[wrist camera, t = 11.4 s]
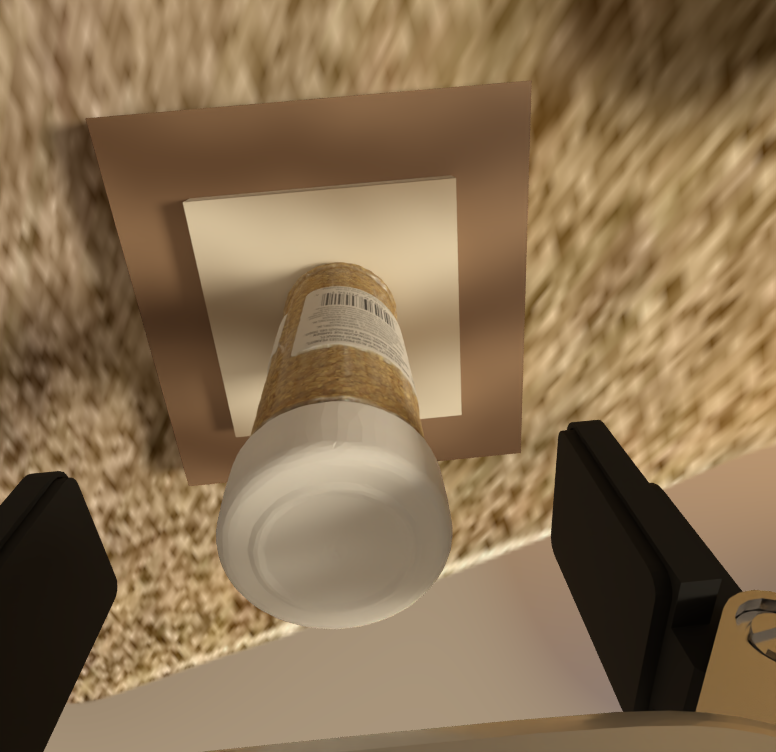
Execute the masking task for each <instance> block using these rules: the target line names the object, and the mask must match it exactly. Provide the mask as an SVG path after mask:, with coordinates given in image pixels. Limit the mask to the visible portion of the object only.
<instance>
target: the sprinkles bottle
mask: <svg viewBox="0 0 776 752" xmlns="http://www.w3.org/2000/svg"><path fill="white" fill-rule="evenodd" d="M451 542H452V522H451V515H450V510H449V504H448V499H447V495H446V491H445V487H444V483H443V479H442V475H441V471H440V468H439V465H438V462H437V459H436V457H435V455H434V454H433V452H432V450H431V448H430V447H429V445H428V444H427V442H426V440H425V438H424V434H423V429H422V425H421V420H420V411H419V403H418V398H417V394H416V389H415V385H414V381H413V377H412V373H411V369H410V364H409V360H408V356H407V352H406V348H405V344H404V341H403V337H402V333H401V330H400V327H399V325H398V322H397V312H396V303H395V300H394V298H393V295H392V293H391V291H390V290H389V288H388V287H387V285H386V284H385V283H384V282H383V280H382V279H381V278H380V277H378V276H377V275H375V274H374V273H373V272H372V271H370V270H368V269H365V268H363V267H362V266H360V265H356V264H353V263H344V262H334V263H329V264H325V265H321V266H317V267H315V268H314V269H312V270H310V271H308V272H307V273H305V274H304V275H302V276H301V277H300V278H299V279H298V280H297V281H296V282H295V284H294V285H293V287H292V289H291V290H290V292H289V293H288V296H287V300H286V303H285V307H284V311H283V320H282V322H281V323H280V326H279V329H278V332H277V335H276V338H275V342H274V346H273V349H272V353H271V356H270V359H269V363H268V368H267V378H266V382H265V384H264V388H263V392H262V395H261V399H260V403H259V406H258V409H257V414H256V418H255V421H254V425H253V428H252V432H251V435H250V438H249V439H248V440H247V441H246V443H245V444H244V445H243V447H242V448H241V449H240V451H239V453H238V454H237V456H236V459H235V461H234V463H233V465H232V468H231V472H230V475H229V478H228V482H227V485H226V489H225V492H224V496H223V500H222V504H221V508H220V513H219V517H218V522H217V529H216V544H217V549H218V554H219V558H220V561H221V564H222V567H223V569H224V571H225V573H226V575H227V576H228V578H229V580H230V581H231V583H232V584H233V585H234V587H235V588H236V589H237V590H238V591H239V592H240V593H241V594H242V595H243V596H244V597H245V598H246V599H247V600H248V601H249V602H250V603H252V604H253V605H254V606H256V607H257V608H259V609H260V610H262V611H264V612H266V613H268V614H270V615H272V616H274V617H276V618H278V619H281V620H283V621H286V622H289V623H293V624H297V625H301V626H305V627H312V628H321V629H342V628H353V627H358V626H364V625H368V624H371V623H375V622H378V621H381V620H384V619H386V618H389V617H391V616H393V615H395V614H397V613H399V612H401V611H403V610H405V609H406V608H407V607H409V606H411V605H412V604H413V603H415V602H416V601H417V600H418V599H420V597H422V596H423V595H424V594H425V593H426V592H427V591H428V590H429V589H430V588H431V587H432V585H433V584H434V583H435V581H436V580H437V579H438V577H439V575H440V574H441V572H442V570H443V568H444V566H445V564H446V562H447V559H448V556H449V553H450V549H451Z"/></svg>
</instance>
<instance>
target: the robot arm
mask: <svg viewBox="0 0 776 752" xmlns="http://www.w3.org/2000/svg"><path fill="white" fill-rule="evenodd" d="M551 543H552V548H553V552H554V555H555V557H556V560H557V562H558V564H559V566H560V569H561V571H562V573H563V576H564V578H565V580H566V582H567V585H568V587H569V589H570V591H571V594H572V596H573V599H574V601H575V603H576V605H577V608H578V610H579V612H580V615H581V617H582V619H583V621H584V624H585V626H586V628H587V630H588V633H589V635H590V637H591V640H592V642H593V644H594V646H595V649H596V651H597V653H598V656H599V658H600V660H601V663H602V664H603V667H604V669H605V672H606V674H607V676H608V679H609V681H610V683H611V685H612V687H613V690H614V692H615V695H616V697H617V699H618V701H619V704H620V706H621V708H622V710H623V712H612V713H601V714H587V715H575V716H562V717H550V718H538V719H525V720H513V721H503V722H492V723H482V724H472V725H462V726H452V727H441V728H431V729H421V730H411V731H401V732H391V733H380V734H370V735H360V736H350V737H340V738H331V739H321V740H311V741H302V742H292V743H282V744H272V745H263V746H253V747H244V748H234V749H224V750H215V751H205V752H776V593H775V592H771V591H760V590H751V591H745V592H742V590H741V589H740V588H739V587H738V585H737V584H736V583H735V581H734V580H733V579H732V578H731V576H730V575H729V574H728V572H727V571H726V570H725V569H724V567H723V566H722V565H721V564H720V562H719V561H718V560H717V558H716V557H715V556H714V555H713V553H712V552H711V551H710V549H709V548H708V547H707V546H706V544H705V543H704V542H703V540H702V539H701V538H700V537H699V535H698V534H697V533H696V532H695V530H694V529H693V528H692V526H691V525H690V524H689V523H688V521H687V520H686V519H685V517H683V515H682V514H681V512H680V511H679V510H678V509H677V507H676V506H675V505H674V503H673V502H672V501H671V500H670V498H669V497H668V496H667V494H666V493H665V492H664V491H663V490H662V489H661V488H660V487H659V486H658V485H657V484H654V483H649V482H648V481H647V480H646V478H645V477H644V476H643V474H642V473H641V472H640V470H639V469H638V468H637V466H636V465H635V464H634V463H633V461H632V460H631V459H630V457H629V456H628V455H627V453H626V452H625V451H624V449H623V448H622V447H621V445H620V444H619V443H618V441H617V440H616V439H615V438H614V436H613V435H612V434H611V432H610V431H609V430H608V428H607V427H606V426H605V424H604V423H603V422H602V421H601V420H591V421H581V422H571V423H570V424H569V425H568V427H567V430H565V431H560V433H559V436H558V447H557V461H556V474H555V488H554V501H553V515H552V528H551ZM116 594H117V579H116V576H115V574H114V571H113V569H112V566H111V564H110V561H109V559H108V557H107V554H106V552H105V549H104V547H103V544H102V542H101V539H100V537H99V534H98V532H97V529H96V527H95V525H94V522H93V520H92V517H91V515H90V512H89V510H88V507H87V505H86V502H85V500H84V498H83V495H82V493H81V490H80V488H79V485H78V483H77V481H76V480H75V479H74V478H68V476H67V475H66V474H65V473H64V472H61V471H55V472H45V473H34V474H29V475H27V476H25V477H24V478H23V479H22V480H21V482H20V483H19V484H18V485H17V486H16V487H15V489H14V490H13V491H12V492H11V493H10V494H9V496H8V497H7V498H6V499H5V500H4V502H3V503H2V504H1V505H0V752H43V751H44V749H45V747H46V745H47V743H48V741H49V738H50V736H51V734H52V732H53V730H54V728H55V726H56V724H57V722H58V719H59V717H60V715H61V713H62V711H63V709H64V707H65V704H66V702H67V700H68V698H69V696H70V694H71V692H72V690H73V687H74V685H75V683H76V681H77V679H78V677H79V675H80V672H81V670H82V668H83V666H84V664H85V662H86V660H87V657H88V655H89V653H90V651H91V649H92V647H93V645H94V643H95V640H96V638H97V636H98V634H99V632H100V630H101V628H102V625H103V623H104V621H105V619H106V617H107V615H108V613H109V611H110V608H111V606H112V604H113V602H114V600H115V597H116Z"/></svg>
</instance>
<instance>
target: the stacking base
mask: <svg viewBox="0 0 776 752" xmlns="http://www.w3.org/2000/svg"><path fill="white" fill-rule="evenodd" d="M530 114H531V81H521V82H510V83H498V84H486V85H474V86H462V87H451V88H439V89H427V90H415V91H403V92H392V93H380V94H368V95H356V96H345V97H333V98H321V99H309V100H297V101H286V102H274V103H262V104H250V105H239V106H227V107H215V108H203V109H191V110H180V111H168V112H156V113H144V114H133V115H121V116H109V117H97V118H86V122H87V125H88V129H89V133H90V136H91V140H92V143H93V147H94V150H95V154H96V157H97V161H98V165H99V168H100V172H101V175H102V179H103V182H104V186H105V189H106V193H107V197H108V200H109V204H110V207H111V211H112V214H113V218H114V221H115V225H116V229H117V232H118V236H119V239H120V243H121V246H122V250H123V253H124V257H125V261H126V264H127V268H128V271H129V275H130V278H131V282H132V285H133V289H134V293H135V296H136V300H137V303H138V307H139V310H140V314H141V317H142V321H143V325H144V328H145V332H146V335H147V339H148V342H149V346H150V349H151V353H152V357H153V360H154V364H155V367H156V371H157V374H158V378H159V381H160V385H161V389H162V392H163V396H164V399H165V403H166V406H167V410H168V413H169V417H170V421H171V424H172V428H173V431H174V435H175V438H176V442H177V446H178V449H179V453H180V456H181V460H182V463H183V467H184V470H185V474H186V478H187V481H188V485H189V486H195V485H205V484H215V483H225V482H228V478H229V475H230V472H231V468H232V465H233V463H234V461H235V459H236V456H237V454H238V453H239V451H240V449H241V448H242V447H243V445H244V444H245V443H246V441H247V440H248V439H249V438H250V435H251V432H252V428H253V425H254V421H255V418H256V414H257V409H258V406H259V403H260V399H261V395H262V392H263V388H264V384H265V382H266V378H267V368H268V363H269V359H270V356H271V353H272V349H273V346H274V342H275V338H276V335H277V332H278V329H279V326H280V323H281V322H282V320H283V311H284V307H285V303H286V300H287V296H288V293H289V292H290V290H291V289H292V287H293V285H294V284H295V282H296V281H297V280H298V279H299V278H300V277H301V276H302V275H304V274H305V273H307V272H308V271H310V270H312V269H314V268H315V267H317V266H321V265H325V264H329V263H334V262H344V263H353V264H356V265H360V266H362V267H363V268H365V269H368V270H370V271H372V272H373V273H374V274H375V275H377V276H378V277H380V278H381V279H382V280H383V282H384V283H385V284H386V285H387V287H388V288H389V290H390V291H391V293H392V295H393V298H394V300H395V303H396V312H397V322H398V325H399V327H400V330H401V333H402V337H403V341H404V344H405V348H406V352H407V356H408V360H409V364H410V369H411V373H412V377H413V381H414V385H415V389H416V394H417V398H418V403H419V411H420V420H421V425H422V429H423V434H424V438H425V440H426V442H427V444H428V445H429V447H430V448H431V450H432V452H433V454H434V455H435V457H436V459H437V461H444V460H454V459H464V458H474V457H484V456H493V455H503V454H513V453H521V423H522V389H523V354H524V320H525V286H526V252H527V217H528V183H529V149H530Z"/></svg>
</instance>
